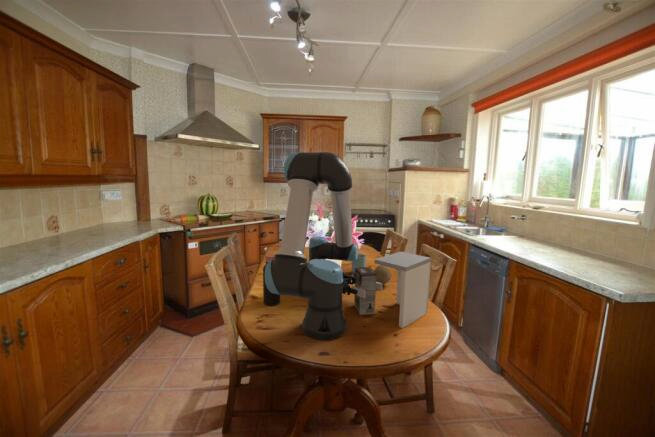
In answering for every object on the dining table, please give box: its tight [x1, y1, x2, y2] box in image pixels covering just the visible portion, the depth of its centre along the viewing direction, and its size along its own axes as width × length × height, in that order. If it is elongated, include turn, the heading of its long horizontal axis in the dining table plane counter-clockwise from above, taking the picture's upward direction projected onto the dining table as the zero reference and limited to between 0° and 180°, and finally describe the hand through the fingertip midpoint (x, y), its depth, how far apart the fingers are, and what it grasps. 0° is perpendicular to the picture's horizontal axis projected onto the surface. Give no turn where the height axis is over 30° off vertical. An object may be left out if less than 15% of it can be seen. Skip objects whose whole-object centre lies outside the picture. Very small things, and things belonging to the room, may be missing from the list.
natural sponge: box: [373, 264, 393, 286], centre depth 146 cm, size 9×9×10 cm
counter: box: [374, 251, 432, 329], centre depth 115 cm, size 18×13×22 cm
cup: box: [350, 253, 367, 274], centre depth 163 cm, size 8×8×10 cm
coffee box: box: [353, 266, 377, 316], centre depth 119 cm, size 9×6×16 cm
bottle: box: [262, 253, 281, 307], centre depth 123 cm, size 7×7×20 cm
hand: (373, 290), depth 116 cm, fingers closed on coffee box, 10 cm apart
